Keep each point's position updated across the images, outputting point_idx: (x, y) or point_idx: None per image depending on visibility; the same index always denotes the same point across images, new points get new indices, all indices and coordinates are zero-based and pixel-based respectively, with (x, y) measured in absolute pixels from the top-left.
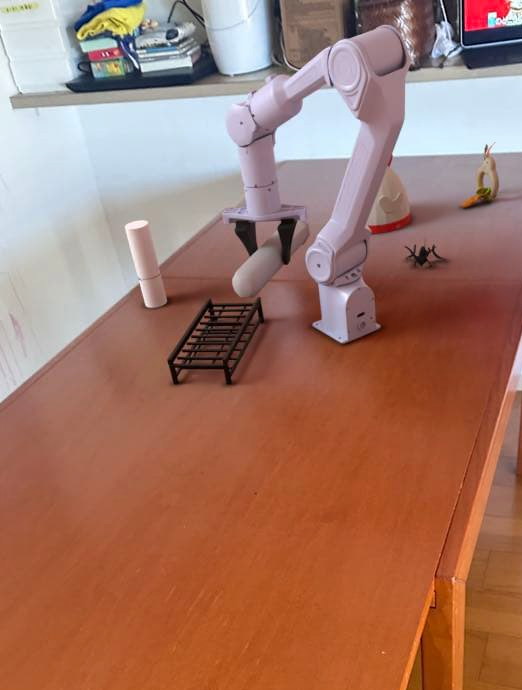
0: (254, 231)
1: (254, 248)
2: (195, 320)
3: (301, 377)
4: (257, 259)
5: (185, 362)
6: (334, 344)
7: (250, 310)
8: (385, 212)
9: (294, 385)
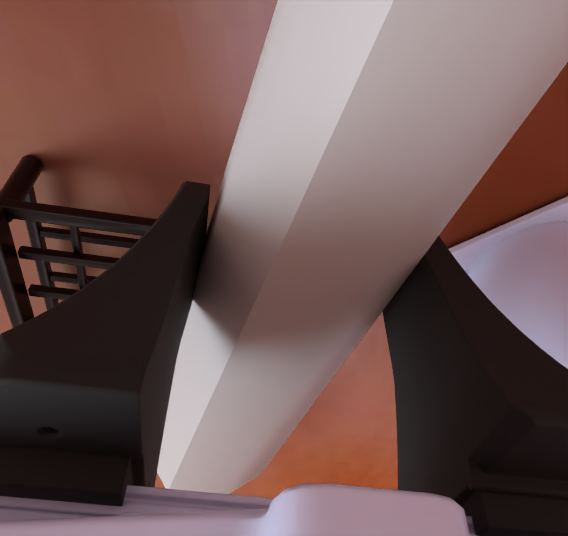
0: (164, 342)
1: (185, 301)
2: None
3: (370, 422)
4: (248, 445)
5: None
6: None
7: None
8: None
9: (354, 437)
